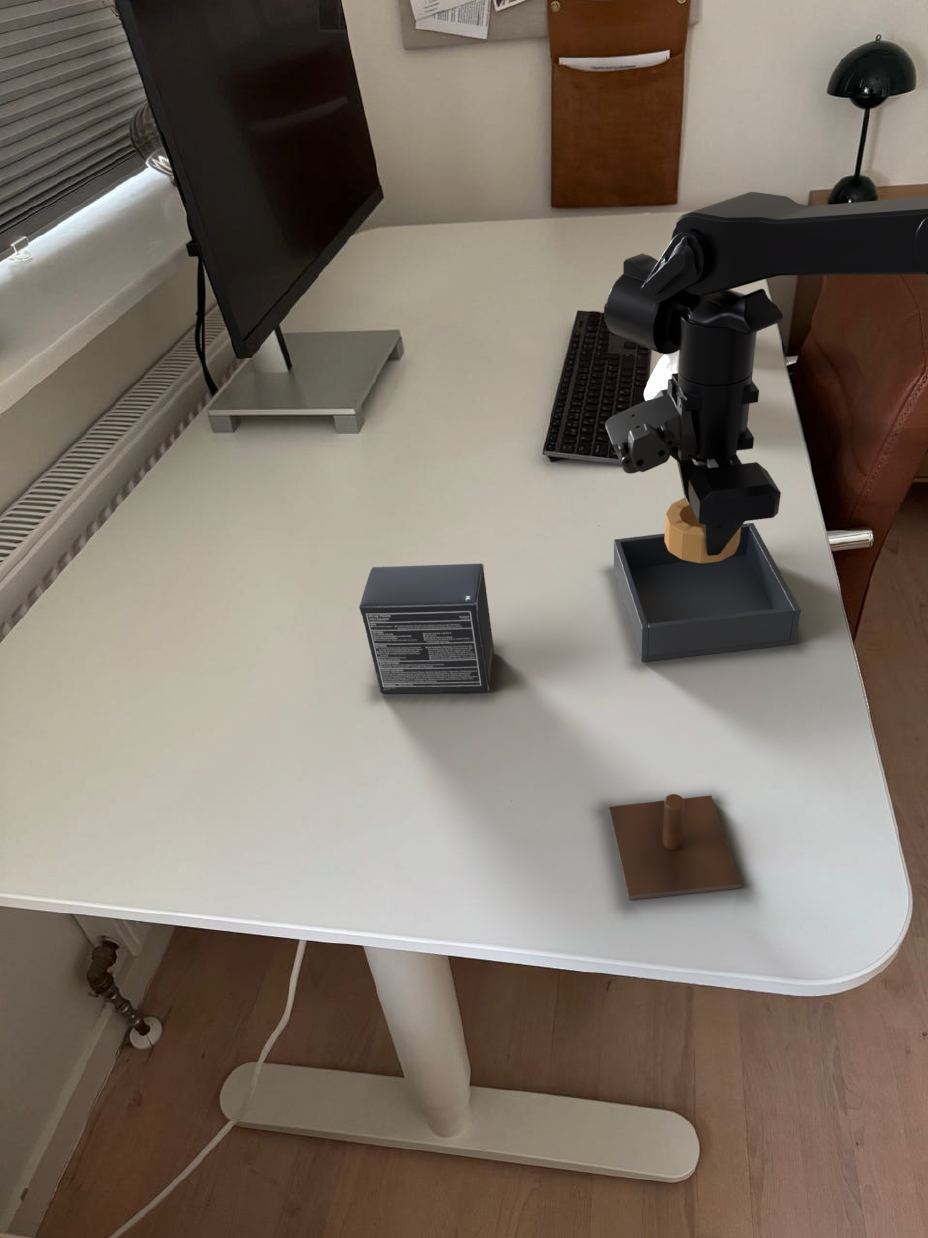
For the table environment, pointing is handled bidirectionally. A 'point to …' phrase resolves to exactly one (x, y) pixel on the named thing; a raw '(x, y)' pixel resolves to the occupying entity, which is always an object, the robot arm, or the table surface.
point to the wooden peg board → (672, 847)
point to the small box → (429, 628)
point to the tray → (703, 599)
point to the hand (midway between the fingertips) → (703, 532)
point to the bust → (662, 375)
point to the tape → (691, 535)
